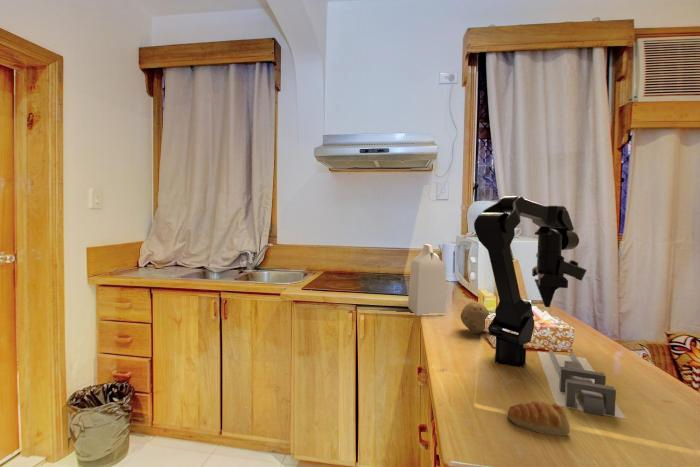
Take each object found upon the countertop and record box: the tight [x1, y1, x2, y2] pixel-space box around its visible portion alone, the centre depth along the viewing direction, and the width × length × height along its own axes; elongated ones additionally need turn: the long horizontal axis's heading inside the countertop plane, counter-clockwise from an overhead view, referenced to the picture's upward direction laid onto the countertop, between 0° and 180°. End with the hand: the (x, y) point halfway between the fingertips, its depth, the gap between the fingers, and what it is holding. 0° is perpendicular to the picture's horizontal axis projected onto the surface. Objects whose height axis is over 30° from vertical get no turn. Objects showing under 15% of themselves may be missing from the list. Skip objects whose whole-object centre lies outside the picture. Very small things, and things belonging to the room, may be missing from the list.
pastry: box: [506, 400, 571, 437], centre depth 60 cm, size 9×7×4 cm
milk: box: [407, 243, 448, 317], centre depth 131 cm, size 12×12×26 cm
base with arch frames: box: [536, 349, 627, 420], centre depth 76 cm, size 11×28×5 cm, turn 157°
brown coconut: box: [460, 301, 491, 334], centre depth 107 cm, size 9×9×10 cm
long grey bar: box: [564, 361, 604, 416], centre depth 70 cm, size 3×17×3 cm, turn 158°
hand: (547, 306), depth 94 cm, fingers closed
